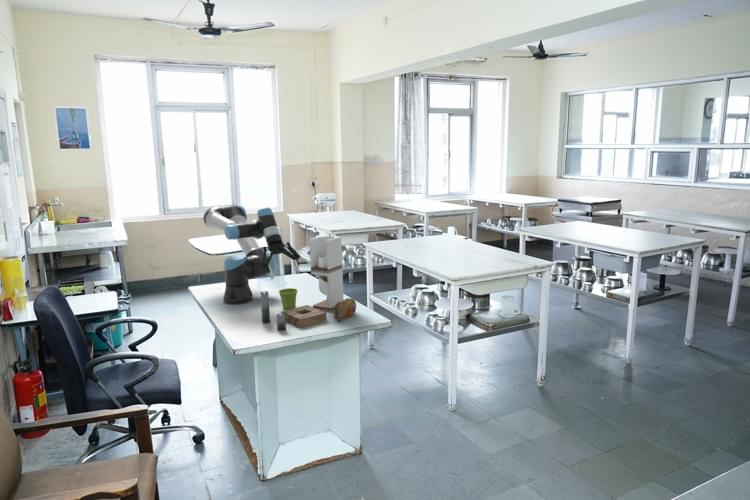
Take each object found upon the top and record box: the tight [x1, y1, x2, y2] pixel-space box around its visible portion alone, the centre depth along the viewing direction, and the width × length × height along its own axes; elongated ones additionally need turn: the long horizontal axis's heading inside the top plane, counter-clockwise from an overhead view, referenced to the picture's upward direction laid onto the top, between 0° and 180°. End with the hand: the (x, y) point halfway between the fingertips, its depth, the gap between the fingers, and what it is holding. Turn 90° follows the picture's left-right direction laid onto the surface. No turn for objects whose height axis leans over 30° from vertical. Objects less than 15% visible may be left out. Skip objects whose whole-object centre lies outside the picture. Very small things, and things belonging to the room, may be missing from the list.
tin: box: [333, 297, 357, 322], centre depth 244 cm, size 15×3×8 cm, turn 148°
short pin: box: [276, 312, 287, 332], centre depth 230 cm, size 4×4×7 cm
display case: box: [308, 234, 345, 313], centre depth 257 cm, size 11×11×35 cm
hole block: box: [281, 304, 327, 329], centre depth 242 cm, size 16×14×4 cm
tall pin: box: [259, 290, 271, 324], centre depth 240 cm, size 4×4×14 cm
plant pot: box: [278, 287, 299, 310], centre depth 262 cm, size 9×9×9 cm
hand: (285, 275), depth 259 cm, fingers open, 13 cm apart
